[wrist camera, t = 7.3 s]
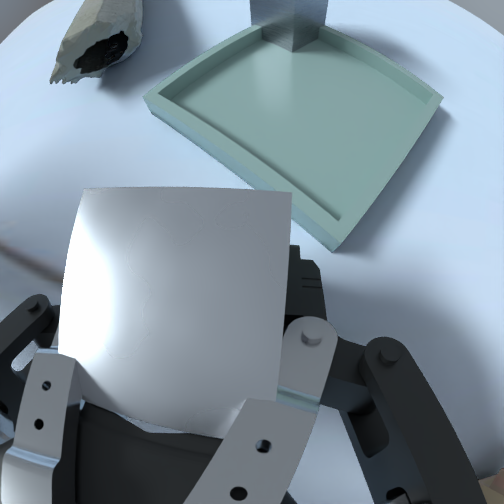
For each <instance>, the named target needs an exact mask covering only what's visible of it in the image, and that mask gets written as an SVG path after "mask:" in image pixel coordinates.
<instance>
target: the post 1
mask: <svg viewBox="0 0 504 504" xmlns="http://www.w3.org/2000/svg"><path fill="white" fill-rule="evenodd" d="M291 209H292V192H281V191H267V190H251V189H231V188H204V187H115V188H89V189H84V190H83V193H82V197H81V200H80V204H79V208H78V211H77V215H76V219H75V224H74V228H73V232H72V237H71V242H70V247H69V252H68V258H67V264H66V270H65V277H64V284H63V292H62V301H61V312H60V326H59V353H60V354H64V355H66V356H69V357H72V358H75V359H76V362H77V368H78V374H79V380H80V385H81V390H82V398H81V399H82V400H84V401H87V402H89V403H92V404H94V405H97V406H99V407H102V408H105V409H107V410H110V411H113V412H116V413H119V414H122V415H125V416H128V417H131V418H134V419H137V420H141V421H144V422H147V423H151V424H155V425H158V426H162V427H166V428H171V429H175V430H179V431H184V432H189V433H194V434H199V435H204V436H210V437H216V438H223V439H224V438H225V436H226V434H227V433H228V431H229V429H230V428H231V426H232V424H233V422H234V421H235V419H236V417H237V415H238V413H239V412H240V410H241V408H242V406H243V404H244V403H245V401H246V399H247V398H252V399H261V400H270V401H276V394H277V385H278V377H279V367H280V358H281V348H282V337H283V326H284V315H285V303H286V290H287V277H288V262H289V246H290V229H291Z"/></svg>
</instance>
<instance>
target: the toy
mask: <svg viewBox="0 0 504 504" xmlns="http://www.w3.org/2000/svg"><path fill="white" fill-rule="evenodd" d="M478 482H479V484H480V487H481V489H482V492H483V494H484V497H485V499H486V502H487V504H504V468H502V469H500V471H499V473H498V474H496V475H493V476H490V477H487V478H484V479H480V480H478Z"/></svg>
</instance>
